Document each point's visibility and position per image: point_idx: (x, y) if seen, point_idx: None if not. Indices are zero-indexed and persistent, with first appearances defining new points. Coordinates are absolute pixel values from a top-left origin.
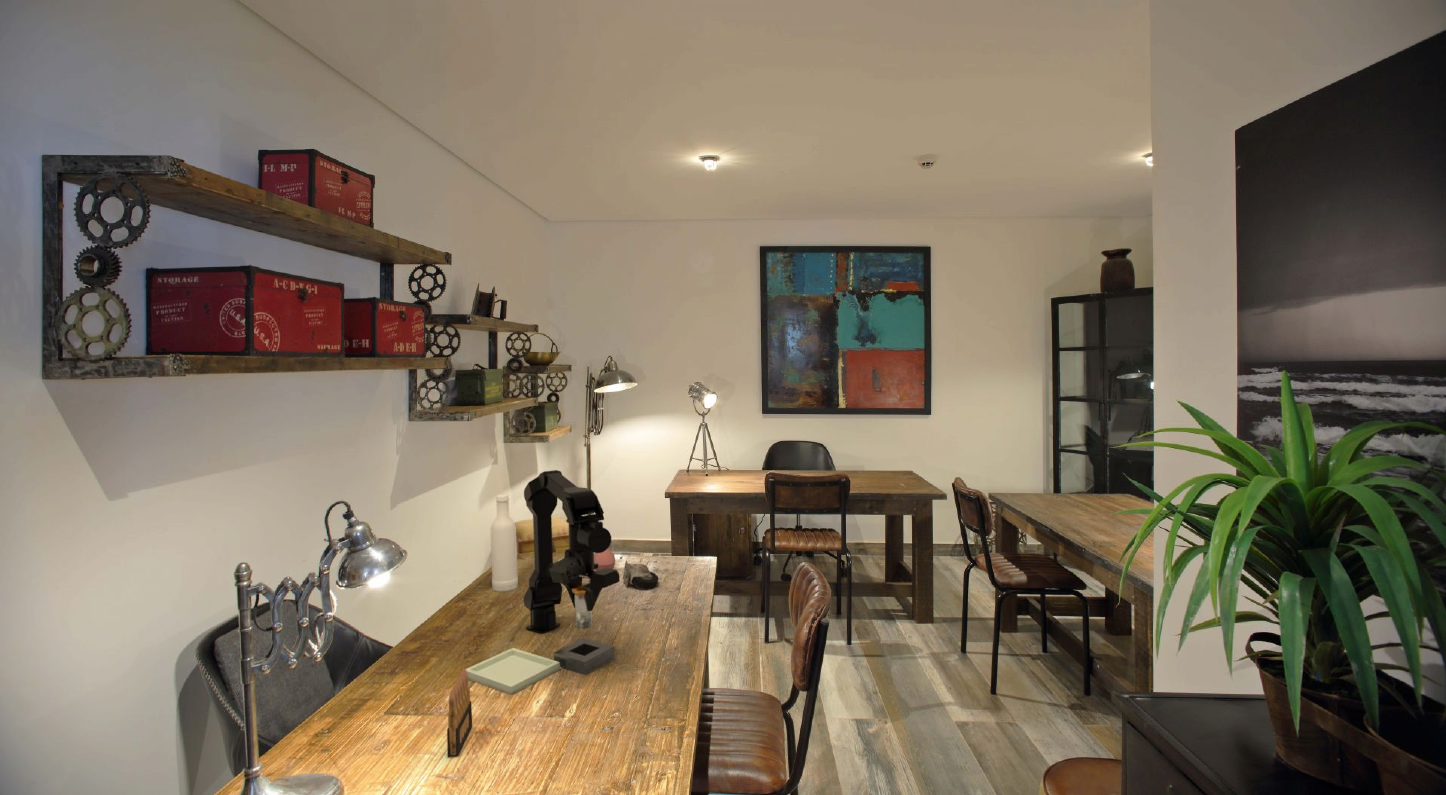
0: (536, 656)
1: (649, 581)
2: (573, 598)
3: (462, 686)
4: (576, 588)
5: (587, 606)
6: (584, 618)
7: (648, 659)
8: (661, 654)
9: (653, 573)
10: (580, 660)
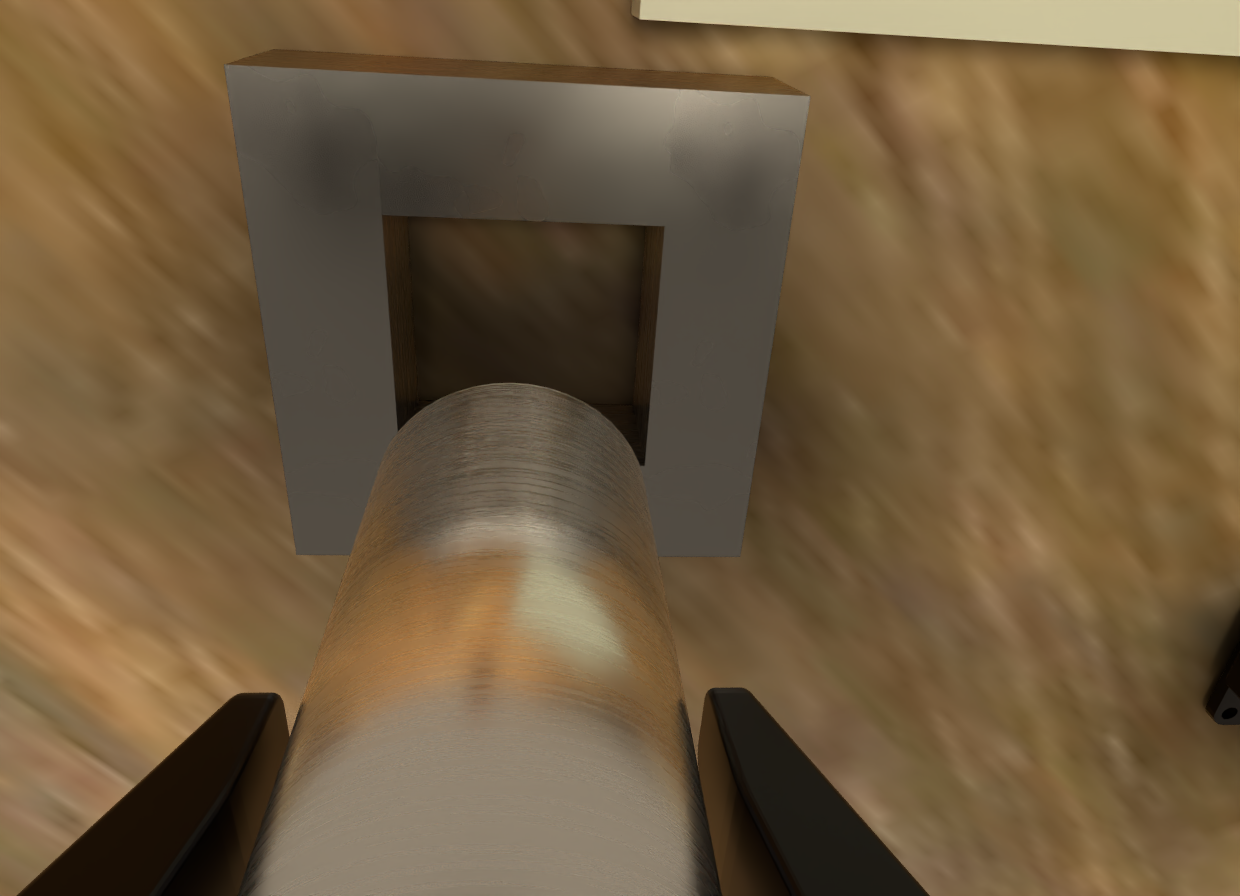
0: (1026, 9)
1: None
2: (779, 883)
3: None
4: None
5: (231, 776)
6: (368, 536)
7: (63, 604)
8: (60, 709)
9: None
10: (317, 79)
